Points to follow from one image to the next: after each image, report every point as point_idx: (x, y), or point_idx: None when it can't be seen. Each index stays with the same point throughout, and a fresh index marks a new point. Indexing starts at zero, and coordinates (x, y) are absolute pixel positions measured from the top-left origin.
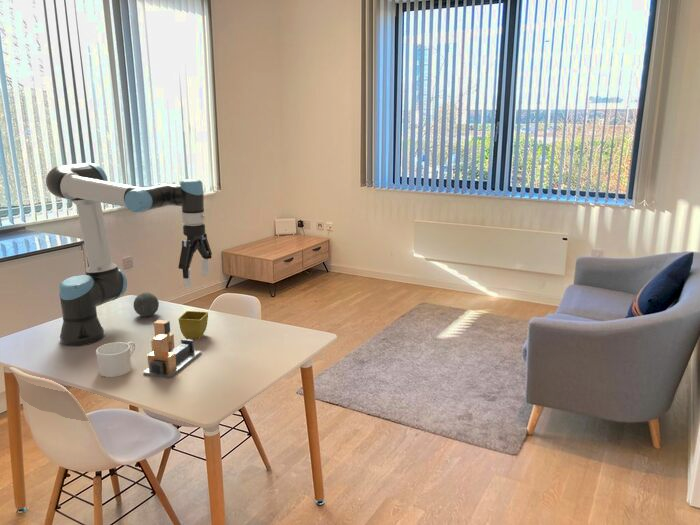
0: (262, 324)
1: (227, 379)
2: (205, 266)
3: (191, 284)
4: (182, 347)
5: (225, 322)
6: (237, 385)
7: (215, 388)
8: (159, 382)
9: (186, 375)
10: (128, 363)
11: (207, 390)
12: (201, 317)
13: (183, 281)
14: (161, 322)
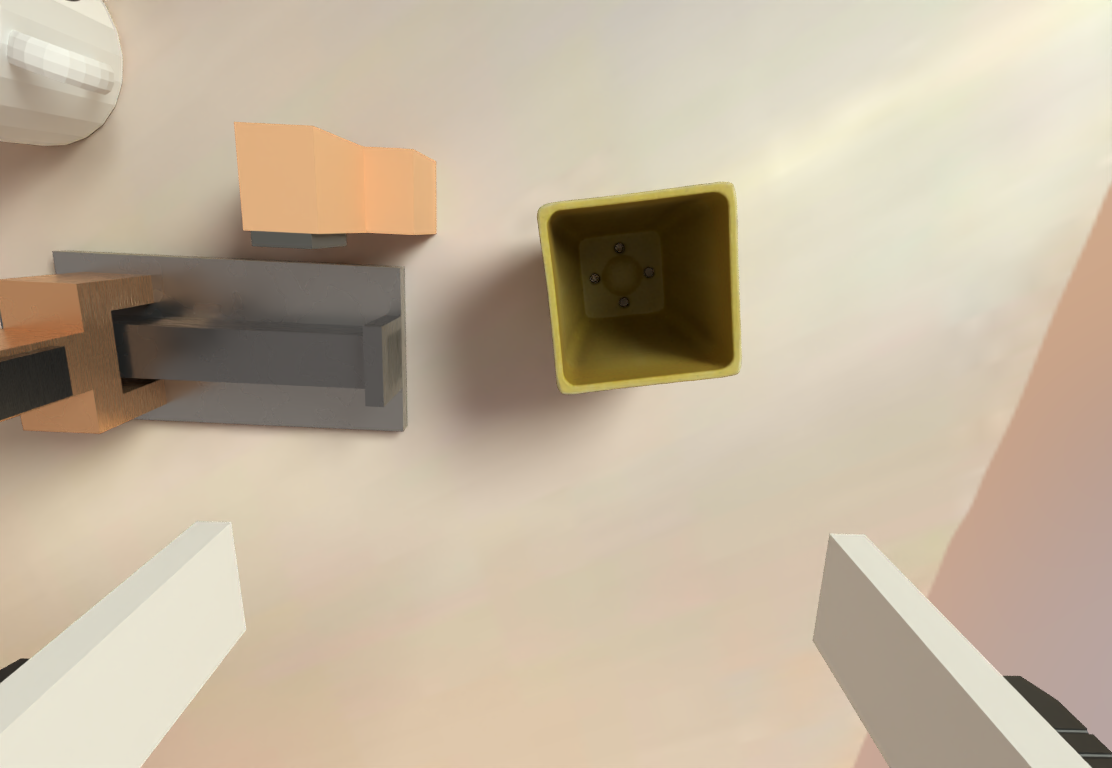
0: None
1: None
2: (917, 741)
3: (228, 651)
4: (299, 371)
5: (897, 357)
6: None
7: None
8: None
9: (154, 469)
10: (9, 140)
11: (71, 618)
12: (716, 313)
13: (140, 571)
14: (261, 192)
